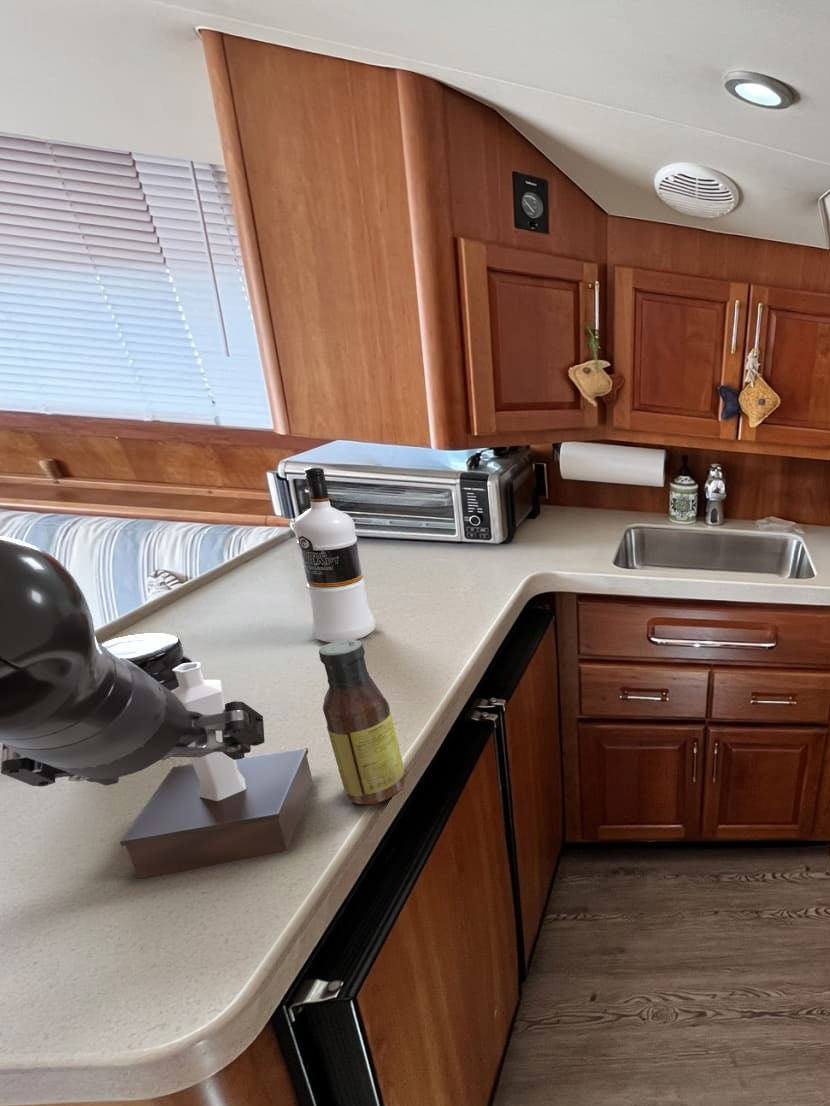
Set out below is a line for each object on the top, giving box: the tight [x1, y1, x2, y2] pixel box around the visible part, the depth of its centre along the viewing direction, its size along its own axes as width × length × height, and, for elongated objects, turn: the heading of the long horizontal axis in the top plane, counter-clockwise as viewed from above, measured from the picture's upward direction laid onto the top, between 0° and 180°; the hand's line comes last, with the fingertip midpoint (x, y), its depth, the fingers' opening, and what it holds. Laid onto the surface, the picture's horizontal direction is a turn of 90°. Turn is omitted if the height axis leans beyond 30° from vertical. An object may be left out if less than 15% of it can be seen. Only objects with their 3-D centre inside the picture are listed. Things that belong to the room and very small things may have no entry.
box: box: [119, 747, 314, 880], centre depth 70 cm, size 12×12×5 cm
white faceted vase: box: [171, 661, 246, 801], centre depth 66 cm, size 5×4×15 cm
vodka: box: [293, 466, 376, 643], centre depth 109 cm, size 9×9×30 cm
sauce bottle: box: [318, 639, 406, 805], centre depth 74 cm, size 7×6×20 cm
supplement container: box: [99, 633, 194, 691], centre depth 83 cm, size 10×10×12 cm
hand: (178, 760), depth 58 cm, fingers open, 8 cm apart
